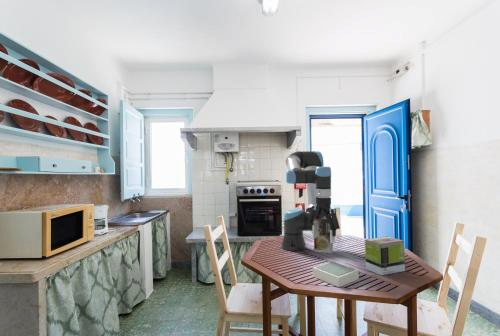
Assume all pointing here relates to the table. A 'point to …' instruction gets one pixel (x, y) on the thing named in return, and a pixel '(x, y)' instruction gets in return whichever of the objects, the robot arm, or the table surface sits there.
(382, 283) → the table surface
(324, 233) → the coffee box
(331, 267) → the block
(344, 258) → the table surface
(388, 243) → the tea box
